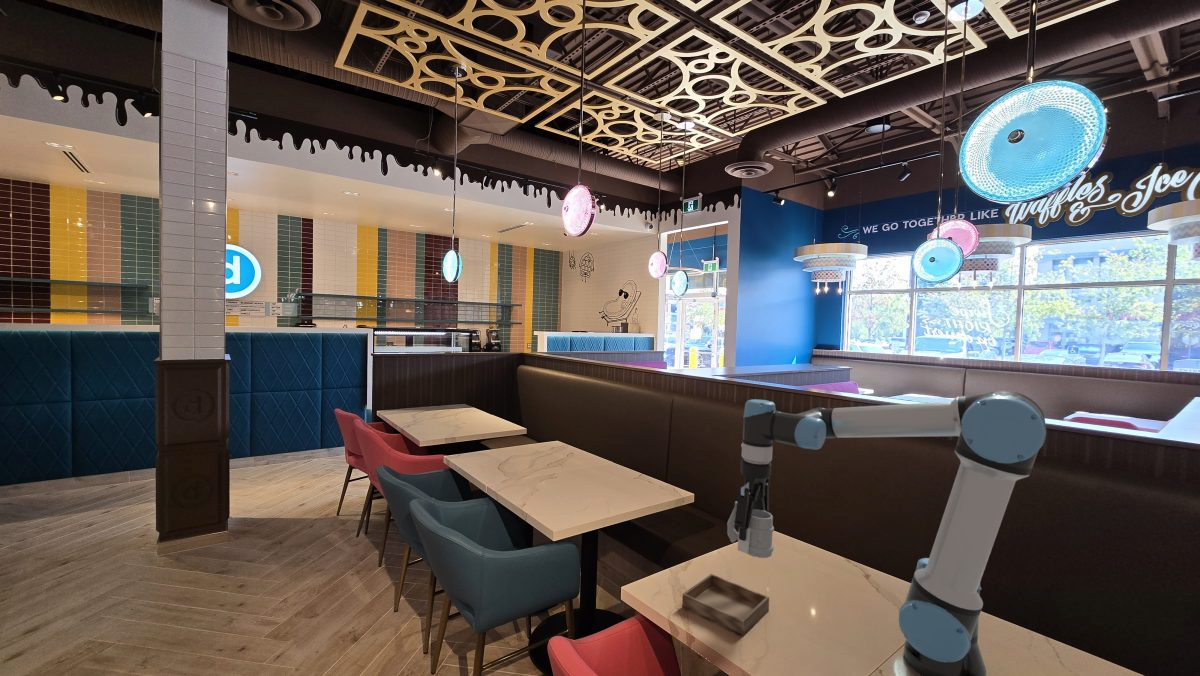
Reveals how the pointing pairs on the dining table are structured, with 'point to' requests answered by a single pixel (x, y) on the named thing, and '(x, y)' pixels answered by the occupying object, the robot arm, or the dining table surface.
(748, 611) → the wooden tray
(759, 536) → the mug
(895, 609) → the dining table surface
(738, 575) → the dining table surface
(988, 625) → the dining table surface
